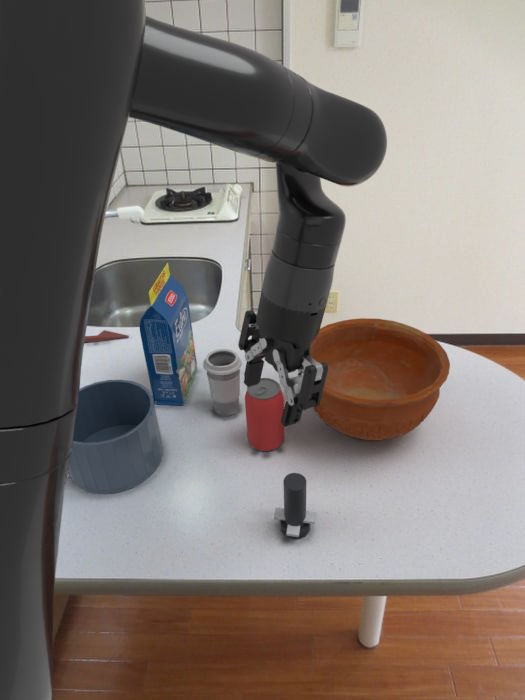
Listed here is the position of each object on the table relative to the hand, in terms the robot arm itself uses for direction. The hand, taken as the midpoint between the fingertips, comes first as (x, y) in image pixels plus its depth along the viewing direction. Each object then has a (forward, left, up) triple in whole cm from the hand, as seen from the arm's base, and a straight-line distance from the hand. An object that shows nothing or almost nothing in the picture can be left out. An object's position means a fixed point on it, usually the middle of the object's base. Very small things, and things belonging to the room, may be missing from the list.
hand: (269, 403), depth 68 cm
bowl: (+27, -5, -23) cm, 35 cm away
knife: (+21, +67, -23) cm, 74 cm away
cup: (+18, +20, -23) cm, 35 cm away
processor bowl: (-2, +30, -23) cm, 38 cm away
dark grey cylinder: (0, -4, -23) cm, 23 cm away
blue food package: (+19, +33, -23) cm, 44 cm away
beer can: (+14, +9, -23) cm, 28 cm away
